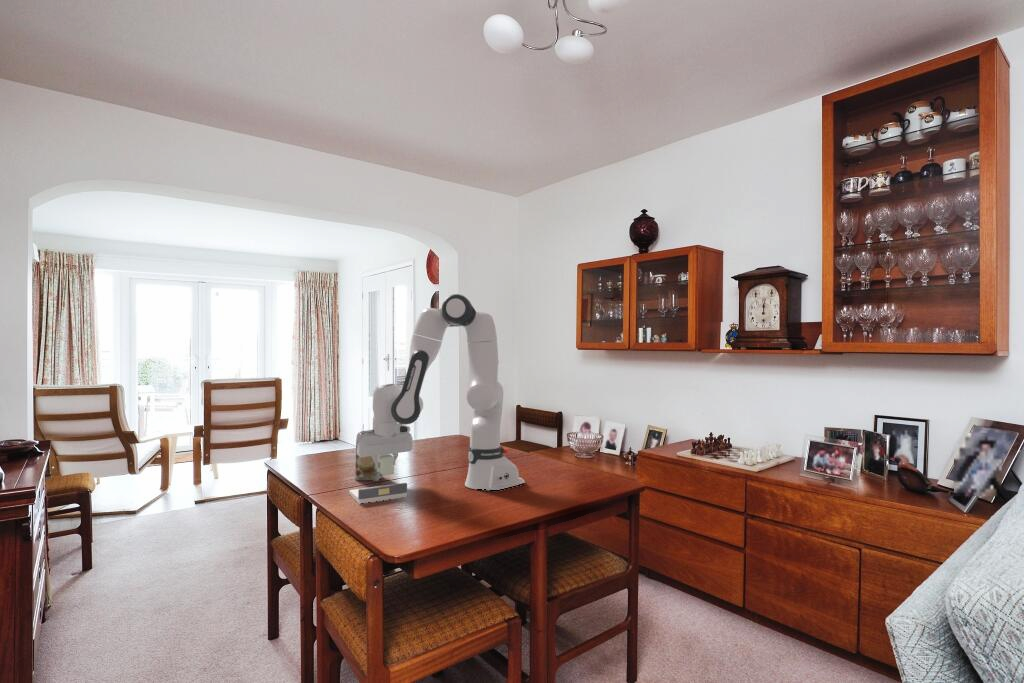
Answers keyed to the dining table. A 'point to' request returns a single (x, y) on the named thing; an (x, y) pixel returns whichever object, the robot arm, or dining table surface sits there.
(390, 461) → the carton
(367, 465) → the coffee box
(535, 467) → the dining table surface
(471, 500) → the dining table surface
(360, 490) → the shelf board
